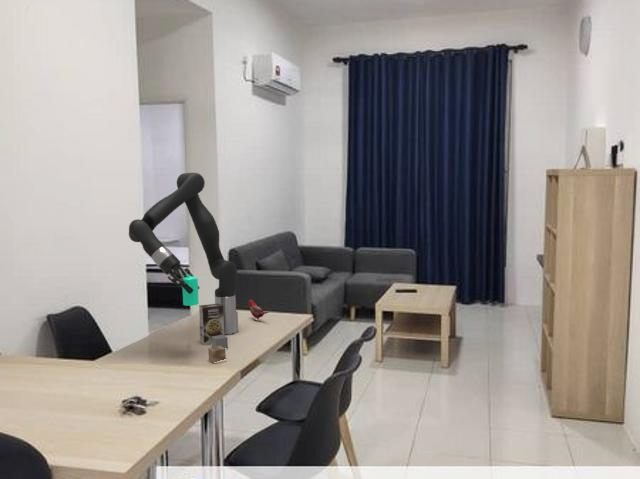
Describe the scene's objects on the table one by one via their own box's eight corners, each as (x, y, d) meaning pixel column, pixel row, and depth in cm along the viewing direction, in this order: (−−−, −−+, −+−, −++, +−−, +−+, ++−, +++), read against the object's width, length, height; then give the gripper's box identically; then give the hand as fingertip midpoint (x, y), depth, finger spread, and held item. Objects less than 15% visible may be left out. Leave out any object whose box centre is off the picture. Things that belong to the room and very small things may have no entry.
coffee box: (204, 345, 241) (202, 307, 239) (199, 341, 247) (198, 305, 245) (224, 342, 245) (223, 305, 244) (220, 338, 251) (219, 302, 249)
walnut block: (221, 358, 223) (220, 345, 223) (225, 361, 219) (225, 348, 218) (208, 360, 221) (208, 348, 220) (213, 364, 216) (212, 351, 216)
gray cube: (223, 346, 239) (222, 334, 239) (227, 349, 235) (227, 337, 235) (211, 348, 237) (211, 336, 236) (216, 351, 233) (215, 339, 232)
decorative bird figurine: (251, 318, 288) (250, 298, 287) (271, 324, 274) (270, 303, 273) (246, 318, 286) (245, 299, 285) (266, 325, 273) (265, 304, 272)
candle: (184, 302, 229) (183, 273, 228) (199, 302, 229) (198, 272, 228) (182, 305, 223) (180, 275, 222) (197, 305, 223) (196, 275, 222)
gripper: (162, 256, 219) (192, 288, 217) (180, 251, 233) (208, 281, 231) (150, 269, 221) (180, 301, 219) (168, 264, 234) (197, 293, 233)
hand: (194, 290), depth 225 cm, fingers closed on candle, 4 cm apart
